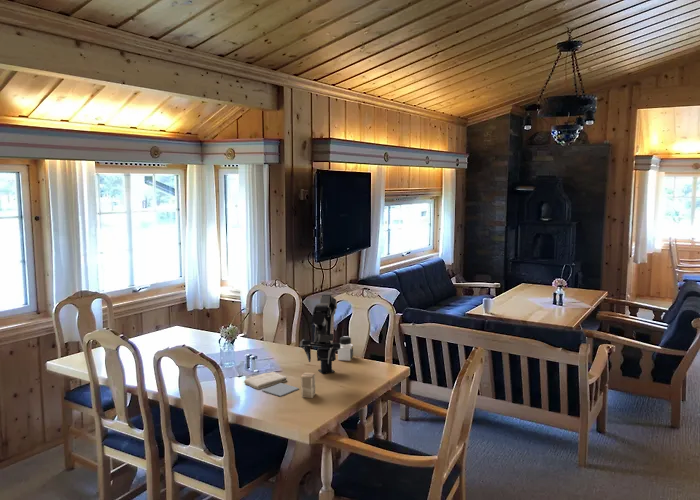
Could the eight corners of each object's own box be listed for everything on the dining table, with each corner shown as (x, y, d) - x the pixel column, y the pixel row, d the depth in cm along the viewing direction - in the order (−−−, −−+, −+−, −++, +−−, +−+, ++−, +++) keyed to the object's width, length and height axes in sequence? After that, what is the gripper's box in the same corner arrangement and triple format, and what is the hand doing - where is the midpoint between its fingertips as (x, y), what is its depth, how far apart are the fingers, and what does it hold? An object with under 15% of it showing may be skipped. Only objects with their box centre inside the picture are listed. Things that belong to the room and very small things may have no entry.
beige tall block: (304, 393, 270) (304, 372, 269) (315, 393, 269) (314, 373, 268) (301, 397, 265) (301, 376, 264) (312, 397, 264) (311, 376, 263)
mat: (280, 384, 283) (280, 382, 283) (298, 389, 275) (298, 388, 275) (262, 391, 274) (262, 390, 274) (280, 396, 266) (280, 395, 266)
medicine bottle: (350, 360, 317) (350, 339, 315) (337, 360, 318) (337, 338, 317) (353, 356, 324) (352, 335, 322) (340, 356, 325) (340, 335, 324)
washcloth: (288, 381, 288) (288, 375, 287) (257, 391, 276) (257, 384, 275) (274, 375, 296) (274, 369, 296) (243, 384, 284) (243, 378, 284)
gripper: (306, 324, 272) (304, 358, 266) (344, 328, 277) (343, 362, 272) (300, 329, 282) (298, 362, 276) (337, 333, 287) (336, 365, 281)
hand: (319, 363), depth 276 cm, fingers open, 9 cm apart
